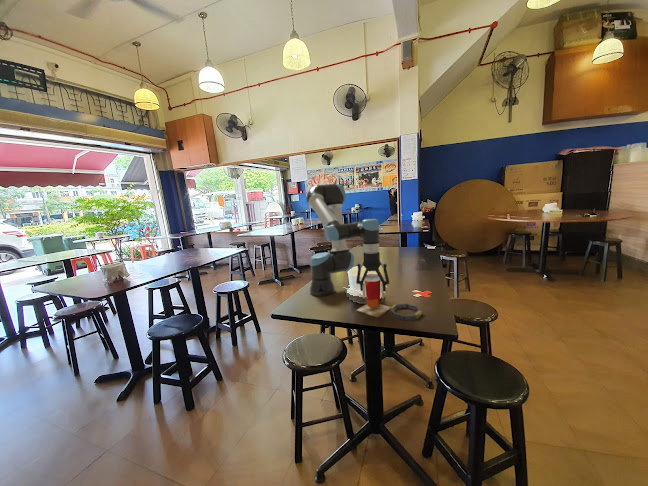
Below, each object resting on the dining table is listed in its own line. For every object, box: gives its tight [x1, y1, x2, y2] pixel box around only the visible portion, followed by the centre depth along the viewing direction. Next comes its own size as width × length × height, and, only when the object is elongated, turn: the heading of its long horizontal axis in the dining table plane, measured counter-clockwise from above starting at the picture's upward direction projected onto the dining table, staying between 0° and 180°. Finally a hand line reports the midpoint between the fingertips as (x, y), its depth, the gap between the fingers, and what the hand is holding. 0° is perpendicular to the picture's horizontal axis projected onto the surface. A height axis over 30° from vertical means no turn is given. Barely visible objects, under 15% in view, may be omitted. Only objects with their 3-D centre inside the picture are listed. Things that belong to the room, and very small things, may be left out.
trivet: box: [356, 303, 391, 318], centre depth 123 cm, size 12×12×1 cm
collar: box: [389, 302, 422, 321], centre depth 117 cm, size 13×13×2 cm
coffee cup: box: [364, 273, 382, 308], centre depth 121 cm, size 8×8×15 cm
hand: (373, 297), depth 122 cm, fingers closed on coffee cup, 8 cm apart
